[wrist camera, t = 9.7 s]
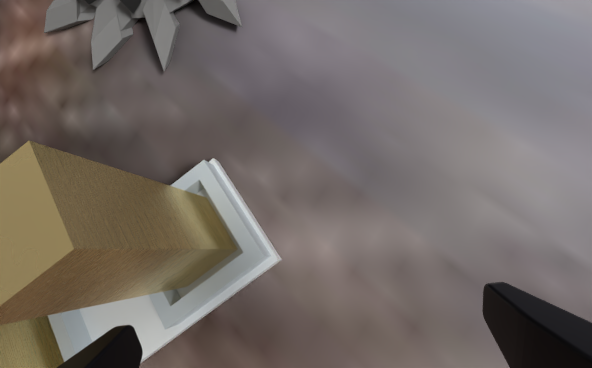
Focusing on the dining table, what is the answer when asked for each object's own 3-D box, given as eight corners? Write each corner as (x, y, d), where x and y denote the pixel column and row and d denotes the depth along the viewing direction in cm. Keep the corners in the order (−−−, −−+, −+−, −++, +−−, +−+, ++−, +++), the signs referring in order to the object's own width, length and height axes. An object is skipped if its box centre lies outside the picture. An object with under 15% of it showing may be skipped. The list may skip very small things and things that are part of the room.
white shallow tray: (281, 259, 21) (272, 260, 19) (32, 442, 23) (-4, 463, 21) (218, 161, 24) (203, 152, 22) (-3, 330, 25) (-38, 338, 23)
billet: (237, 249, 21) (73, 249, 10) (186, 286, 22) (-35, 332, 10) (206, 197, 23) (29, 140, 11) (159, 233, 23) (-66, 216, 11)
